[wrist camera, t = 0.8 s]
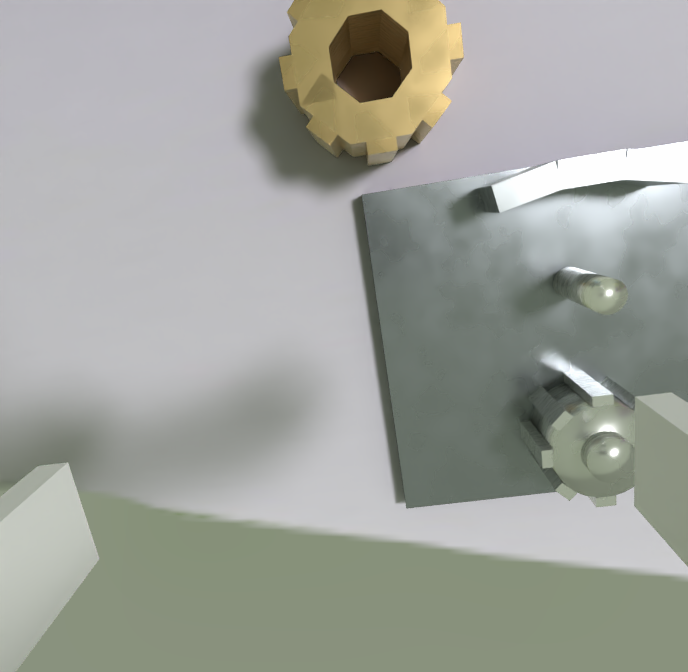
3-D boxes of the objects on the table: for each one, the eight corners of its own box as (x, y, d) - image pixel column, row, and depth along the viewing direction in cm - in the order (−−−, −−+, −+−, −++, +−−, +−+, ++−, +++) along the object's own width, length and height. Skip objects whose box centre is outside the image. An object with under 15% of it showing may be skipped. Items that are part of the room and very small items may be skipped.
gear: (285, 22, 27) (264, -28, 22) (434, -7, 27) (452, -67, 21) (311, 175, 29) (297, 167, 24) (449, 151, 29) (470, 137, 23)
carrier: (361, 195, 30) (360, 192, 24) (723, 135, 28) (821, 115, 22) (405, 498, 34) (413, 559, 28) (714, 463, 33) (792, 520, 27)
